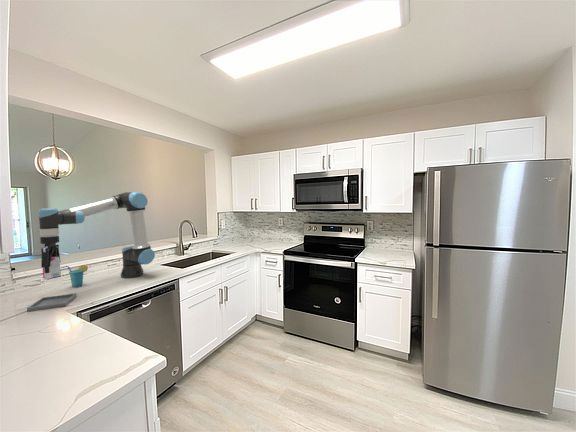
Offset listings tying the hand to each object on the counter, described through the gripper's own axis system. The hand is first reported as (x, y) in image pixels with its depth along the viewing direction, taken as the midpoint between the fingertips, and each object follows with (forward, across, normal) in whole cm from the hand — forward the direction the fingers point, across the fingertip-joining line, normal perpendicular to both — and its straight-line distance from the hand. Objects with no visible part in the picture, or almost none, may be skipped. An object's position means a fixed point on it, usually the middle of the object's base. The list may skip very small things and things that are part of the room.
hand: (52, 276), depth 136 cm
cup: (+16, -31, 0) cm, 35 cm away
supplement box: (+1, 0, 0) cm, 1 cm away
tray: (+16, 0, 0) cm, 16 cm away
